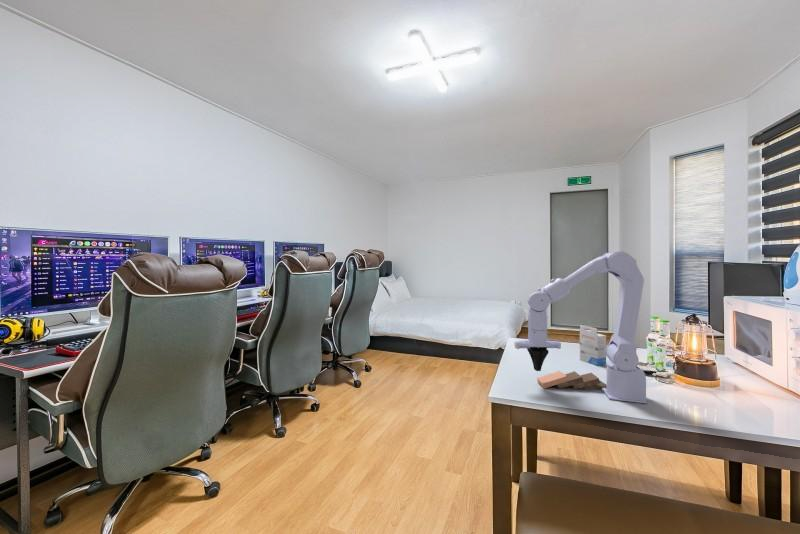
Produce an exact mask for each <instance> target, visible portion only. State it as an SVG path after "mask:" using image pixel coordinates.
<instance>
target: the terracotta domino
mask: <svg viewBox="0 0 800 534" xmlns="http://www.w3.org/2000/svg"><path fill="white" fill-rule="evenodd" d="M536 380H537V383H538V384H539V385H540V386H541V387H542V388H543V389H547V388H550V387H552V386H555V385H557V384H560V383H563V382H566V381H568V379H567V376H566V375H565V374H564V373H563V372H562V371H560V370H558V371H556V372H555V371H554V372H552V373H549V374H546V375H543V376H539V377H537V378H536Z"/></svg>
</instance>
